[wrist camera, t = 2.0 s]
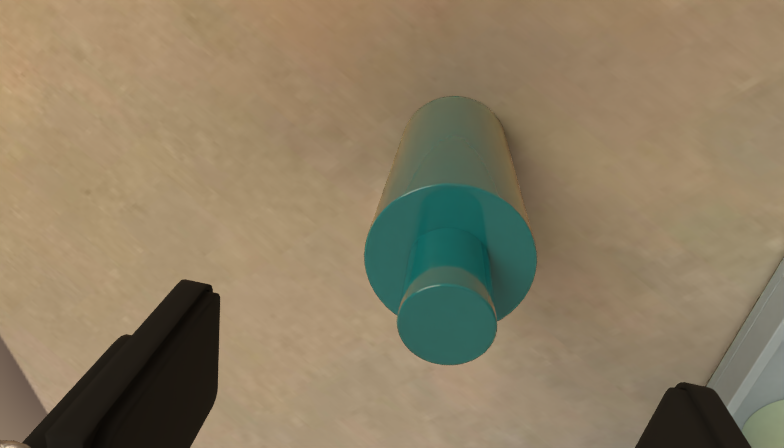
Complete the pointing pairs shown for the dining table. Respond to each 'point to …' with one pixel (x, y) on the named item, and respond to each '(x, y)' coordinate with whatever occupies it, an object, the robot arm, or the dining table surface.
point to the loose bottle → (451, 233)
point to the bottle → (766, 426)
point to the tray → (755, 357)
